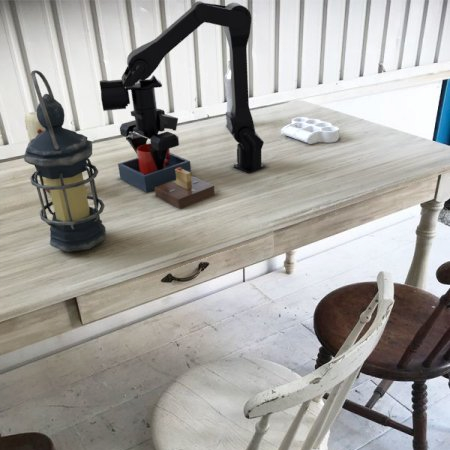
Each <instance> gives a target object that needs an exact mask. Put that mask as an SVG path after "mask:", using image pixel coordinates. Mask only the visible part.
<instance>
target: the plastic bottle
mask: <svg viewBox="0 0 450 450" xmlns="http://www.w3.org/2000/svg"><path fill="white" fill-rule="evenodd" d="M227 63H228V66H227V68H228V70H227V72H226V73H225V75H224V79H223V80H224V86H225V93H226V112H231V109H232V86H231V69H230V60H229V61H228V62H227ZM225 121H226V123H227V117H226V116H225Z"/></svg>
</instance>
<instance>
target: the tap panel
mask: <svg viewBox="0 0 450 450" xmlns="http://www.w3.org/2000/svg"><path fill="white" fill-rule="evenodd" d="M191 182H192V188H191V189H188V190H187V189H185V188H183V187H181V186H179V185H177V182H176V180H174V181H171V182H168V183H165V184H163V185H160V186H157V187H155V190H154V194H155V197H156V198H158V199H160V200H161V201H164V203H165V202H166V203H167V204H170V205H171V206H173V207H175V208H177V209H179V210H180V209H183V208H185V207H188V206H190V205H193V204H196V203H198V202H200V201H201V202H202V201H204V200H206V199H208V198H211V197H213V196H215V194H216V192H215V185H214V184H212V183H209V182H207V181H205V180H202V179H200V178H197V177H195V176H193V175H191Z"/></svg>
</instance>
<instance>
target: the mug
mask: <svg viewBox="0 0 450 450" xmlns="http://www.w3.org/2000/svg"><path fill="white" fill-rule="evenodd" d="M150 147H152V146H151V142H149V143H146V144H144V145H141V146H139V147H138V148H137V154H136V155H137V158H138V162H139V169H140V173H142V174H144V175H147V174H150V173H153V172H156V171H158V169H157V167H156V165H155V162H154V160H153V157H152V155H151V153H150V150H149V148H150ZM170 151H171V149H170V148H169V149H168V151H167V153H166V157H167V159H165V160H164V164H163V169H164V168H166V166H165V163H168V162H170V161H171V159H170V153H171V152H170Z"/></svg>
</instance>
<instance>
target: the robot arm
mask: <svg viewBox="0 0 450 450" xmlns="http://www.w3.org/2000/svg"><path fill="white" fill-rule="evenodd" d="M204 23H207V24H211V25H217V26H221V27H223V30H224V35H225V37H226V41H227V45H228V48H229V49H228V50H229V61H230V69H231V86H232V109H231V112H227V111H226V112H225V118H226V117H227V122H226V125H225V127H226V128H227V130H228V132H229V133H230V135H231V136H232V138H233V139H234V141H235V142H236V143H237V144H236V145H237V148H236V164H234V165H233V168H234V169H237V170H240V171H243V172H245V173H248V174H251V173H253V172H256V171H258V170H261V169H264V168H266V164H264V163H262V149H263V147H264V143H265V142H264V140H263V139H262V138H261V137H260V135H259V134H258V133H257V131H256V128H255V124H254V119H253V116H252V112H251V109H250V104H249V103H250V101H249V100H250V99H249V98H250V97H249V78H248V75H249V73H248V52H247V51H248V50H247V49H248V43H249V39H250V35H251V29H252V14H251V11H250V10H249V9H248V8H247V7H246V6H244V5H242V4H241V3H238V2H229V3H228V4H227V5H223V4H218V3H217V4H216V3H208V2H204V1H202V0H198V1H196V2H194V3H193V4H192V6H191V7H190V8H189V9H187V11H185V12H184V13H183V14H182V15H181V16H179V18H177V19H176V20H175V21H174V22H173V23H172V24H171V25H169V27H167V28H166V29H165V30H164V31H162V32H161V33H160V34H159V35H158V36H157V37H156V38H154V39H153V40H151V41H148V42H146V43H144V44H142V45H140V46H139V47H137V48H135V49H134V50H132V51H130V52H129V54H128V55H127V59H126V64H127V66H126V68H125V70H124V71H123V73H122V76H121V79H112V80H106V79H102V80H99V88H100V101H101V105H102V110H103V112H107V111H116V110H117V111H118V110H126V109H127V107H128V106H129V105H131V101H132V107H133V110H131V111H130V115H131V117H134V120H130V121H127V122H123V123H121V125H120V127H119V133H120V136H122V137H125V140H126V141H127V142H128V143H129V145H130V146H131V148H132V149H133V151H134V152H135V154H136V155H137V148H138V147H139V146H141V145H144V144H147V142H148V140H150V141H149V143H151V146H152V147H150V148H149V150H150V153H151V155H152V157H153V160H154V162H155V165H156V167H157V169H158V170H161V169H163V164H164V160H165V156H166V153H167V151H168V149H169V150H170V149H172V148H175V147H179V146H180V139H179V136H178V135H177V134H175V133H172V132H169V131H165V129H167V130H172V131H177V128H178V122H179V118H178V117H176V116H173V115H170V114H166V113H165V110H164V109H162V108H157V99H156V88H162V87H163V84H162V81H161V80H159V79H158V78H157V77H156V75H154V74H153V73H154V72H155V71H156V69H157V68H158V67H159V66H160V64H161V63H162V61H163V59H164V58H165V57H166V56H167V55H168V54H169V53H170V52H172V50H173V49H175V48H176V47H177V46H178V45H180V43H182V42H183V41H184V40H185V39H186V38H188V37H189V36H190V35H191V34H192V33H194V32H195V31H196V30H197V29H198V28H199V27H200V26H201V25H204ZM129 91H130V92H131V98H130V93H129ZM130 99H131V100H130ZM159 132H161V133H159Z"/></svg>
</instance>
